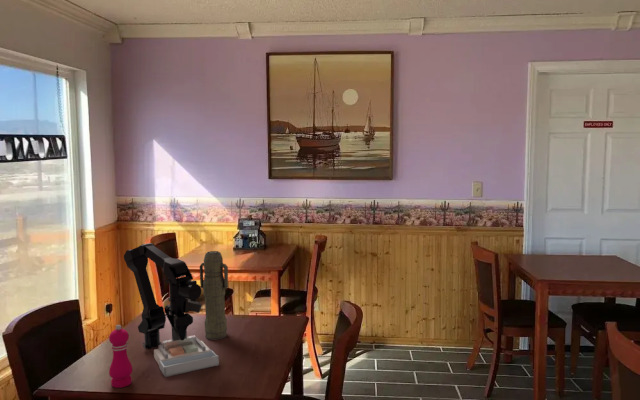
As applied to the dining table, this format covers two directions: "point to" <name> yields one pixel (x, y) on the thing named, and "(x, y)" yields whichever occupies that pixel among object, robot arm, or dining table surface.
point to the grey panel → (178, 340)
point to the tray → (188, 363)
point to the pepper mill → (120, 359)
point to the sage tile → (190, 348)
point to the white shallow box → (165, 355)
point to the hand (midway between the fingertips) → (179, 336)
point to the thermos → (214, 294)
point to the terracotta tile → (176, 351)
